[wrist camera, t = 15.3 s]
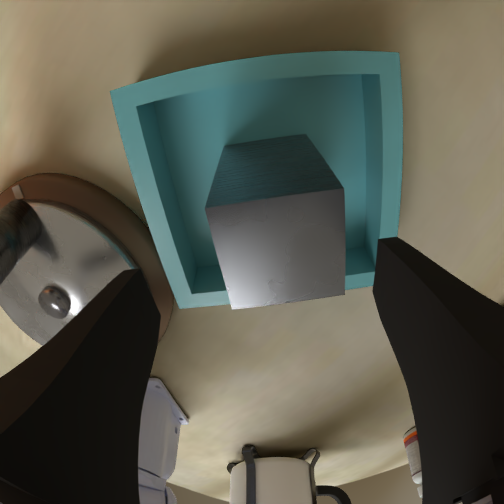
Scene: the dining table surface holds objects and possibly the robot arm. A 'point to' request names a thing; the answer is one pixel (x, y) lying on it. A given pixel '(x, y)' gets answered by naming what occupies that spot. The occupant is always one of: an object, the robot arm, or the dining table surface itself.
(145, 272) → the crank base
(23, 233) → the crank
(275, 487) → the coffee press
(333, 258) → the block
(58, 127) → the dining table surface
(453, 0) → the dining table surface
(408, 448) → the pill bottle
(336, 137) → the tray
